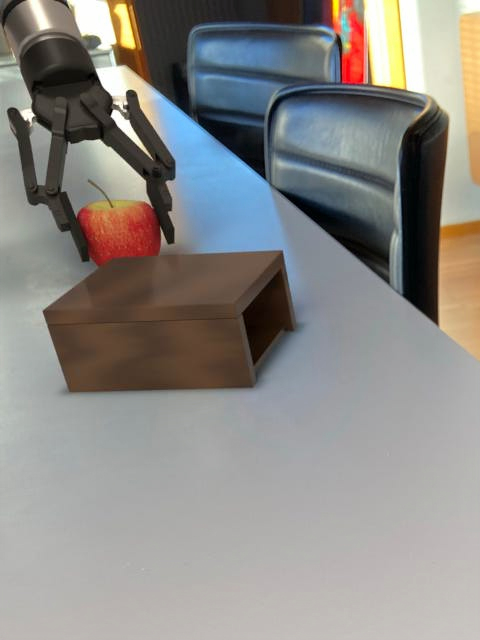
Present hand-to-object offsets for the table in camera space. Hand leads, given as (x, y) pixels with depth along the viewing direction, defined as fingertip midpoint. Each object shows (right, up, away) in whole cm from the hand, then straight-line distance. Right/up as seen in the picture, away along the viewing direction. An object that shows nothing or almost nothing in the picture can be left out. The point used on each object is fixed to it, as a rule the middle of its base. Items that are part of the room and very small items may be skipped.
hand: (128, 245), depth 107 cm
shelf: (+12, -17, -18) cm, 27 cm away
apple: (-1, -2, +5) cm, 5 cm away
